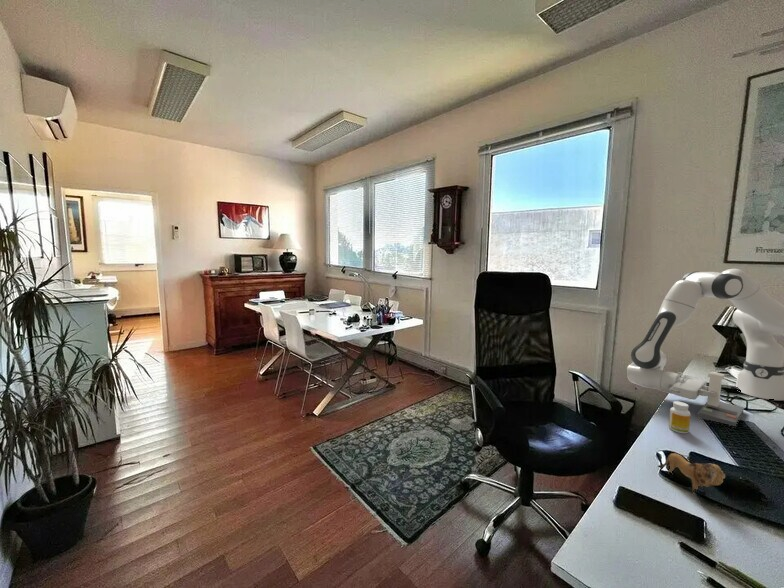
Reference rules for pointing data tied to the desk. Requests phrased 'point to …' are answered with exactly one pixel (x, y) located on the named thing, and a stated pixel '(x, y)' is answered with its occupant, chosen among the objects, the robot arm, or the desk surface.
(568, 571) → the desk surface
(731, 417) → the breaker panel
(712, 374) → the lever
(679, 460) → the lion figurine
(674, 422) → the supplement bottle
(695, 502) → the desk surface
